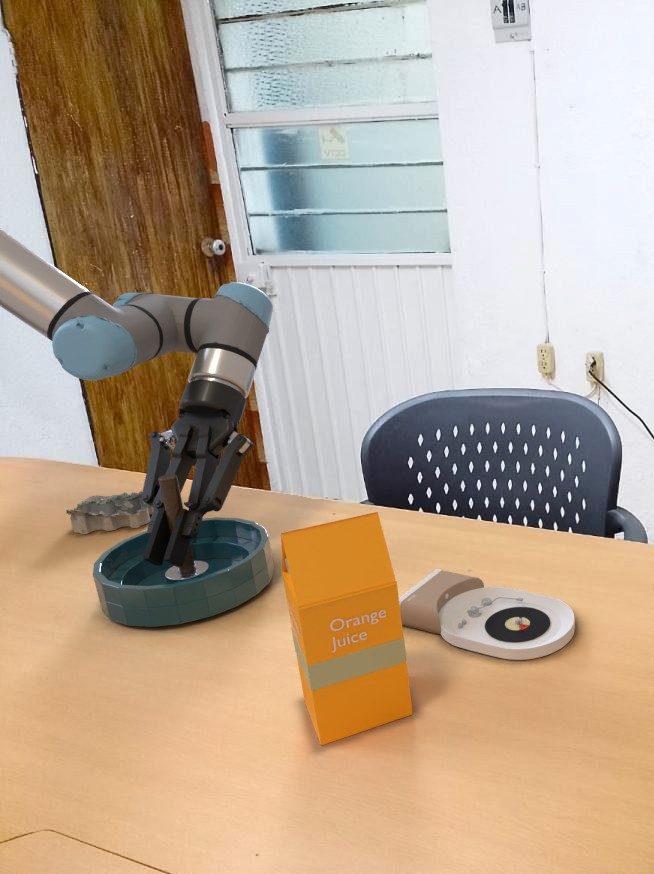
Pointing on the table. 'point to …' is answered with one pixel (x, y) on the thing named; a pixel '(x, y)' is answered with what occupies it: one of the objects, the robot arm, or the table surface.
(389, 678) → the orange juice
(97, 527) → the egg carton
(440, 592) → the record player
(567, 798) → the table surface
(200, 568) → the brown rod
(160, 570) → the bowl
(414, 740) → the table surface
